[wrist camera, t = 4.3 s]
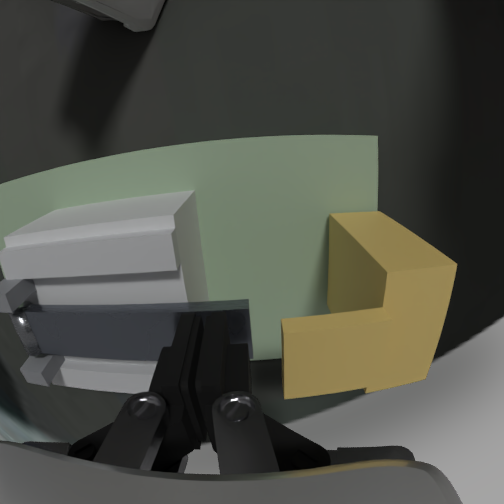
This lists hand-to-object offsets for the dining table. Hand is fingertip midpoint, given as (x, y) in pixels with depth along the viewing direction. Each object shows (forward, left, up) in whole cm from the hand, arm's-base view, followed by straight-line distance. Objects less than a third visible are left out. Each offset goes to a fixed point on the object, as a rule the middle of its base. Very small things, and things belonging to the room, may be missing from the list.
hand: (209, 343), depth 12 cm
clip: (-6, 0, -6) cm, 9 cm away
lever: (+4, 0, -1) cm, 4 cm away
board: (+4, 0, -8) cm, 9 cm away
